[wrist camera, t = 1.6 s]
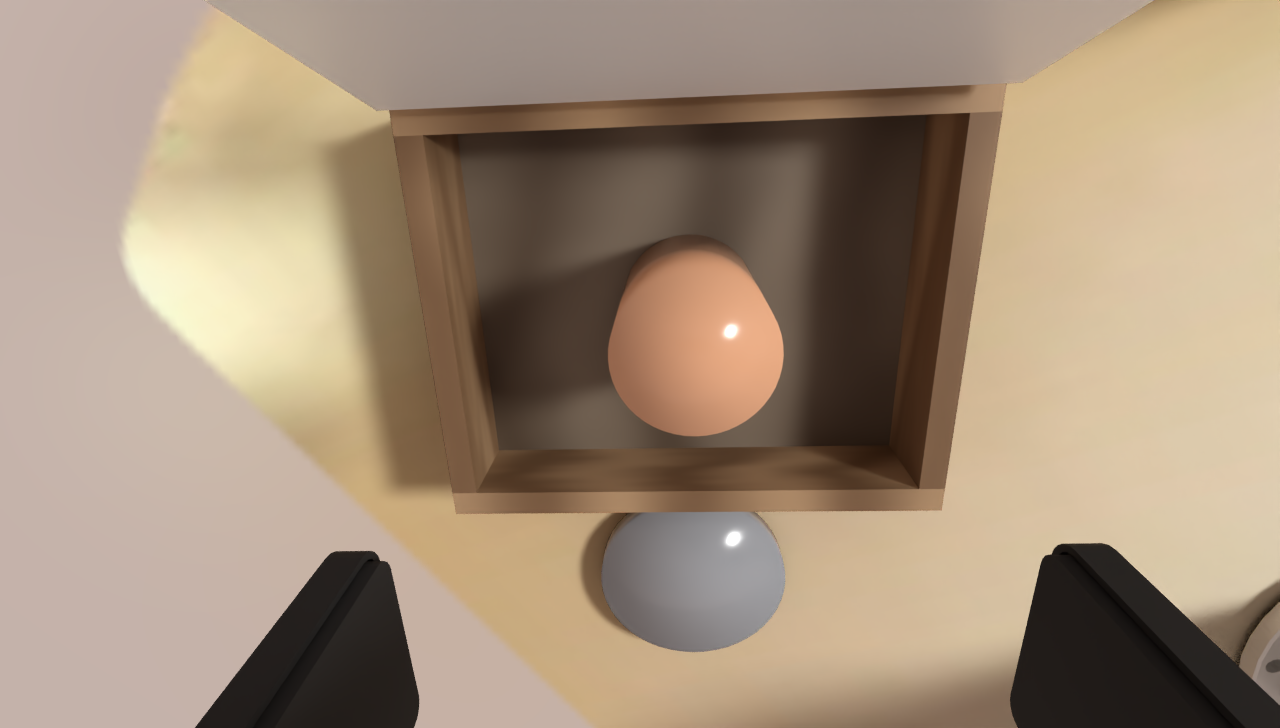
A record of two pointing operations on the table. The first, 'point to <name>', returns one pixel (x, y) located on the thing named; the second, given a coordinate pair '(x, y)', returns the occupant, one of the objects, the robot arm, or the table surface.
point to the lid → (665, 45)
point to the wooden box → (758, 232)
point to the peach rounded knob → (694, 339)
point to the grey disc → (693, 577)
